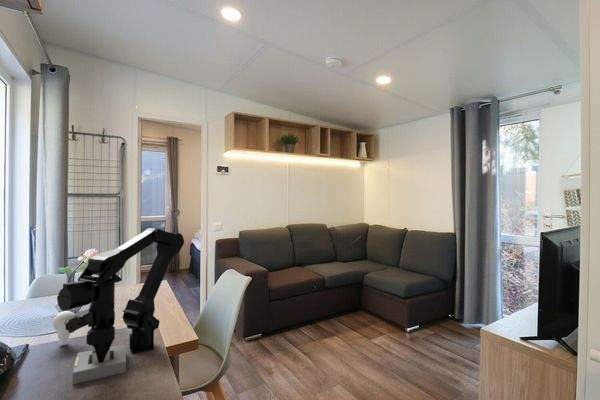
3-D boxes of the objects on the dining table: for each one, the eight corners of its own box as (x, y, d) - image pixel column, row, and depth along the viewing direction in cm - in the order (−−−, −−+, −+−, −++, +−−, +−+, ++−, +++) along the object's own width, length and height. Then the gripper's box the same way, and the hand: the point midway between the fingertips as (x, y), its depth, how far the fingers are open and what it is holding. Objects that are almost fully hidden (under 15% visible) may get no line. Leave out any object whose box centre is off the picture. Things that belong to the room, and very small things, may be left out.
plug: (109, 362, 91) (110, 338, 91) (109, 369, 87) (109, 344, 87) (92, 366, 89) (93, 341, 89) (91, 373, 85) (92, 347, 85)
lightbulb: (62, 350, 98) (63, 315, 98) (46, 348, 99) (47, 313, 99) (80, 342, 104) (80, 309, 104) (65, 340, 105) (65, 307, 105)
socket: (124, 353, 96) (125, 343, 96) (125, 372, 86) (126, 360, 86) (77, 363, 90) (77, 352, 90) (72, 384, 80) (72, 371, 80)
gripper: (71, 295, 92) (70, 348, 92) (62, 315, 76) (60, 379, 76) (115, 290, 98) (114, 340, 98) (115, 308, 82) (114, 367, 81)
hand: (101, 355), depth 88 cm, fingers open, 9 cm apart
